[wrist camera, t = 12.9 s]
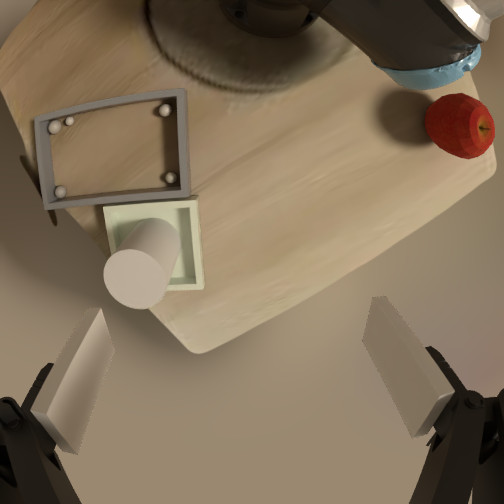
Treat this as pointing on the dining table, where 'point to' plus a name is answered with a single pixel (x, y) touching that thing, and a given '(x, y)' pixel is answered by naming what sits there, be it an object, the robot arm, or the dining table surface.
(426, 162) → the dining table surface
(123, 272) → the cup
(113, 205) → the sage tray
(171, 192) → the gravel bin
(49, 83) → the dining table surface
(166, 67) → the dining table surface
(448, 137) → the apple
